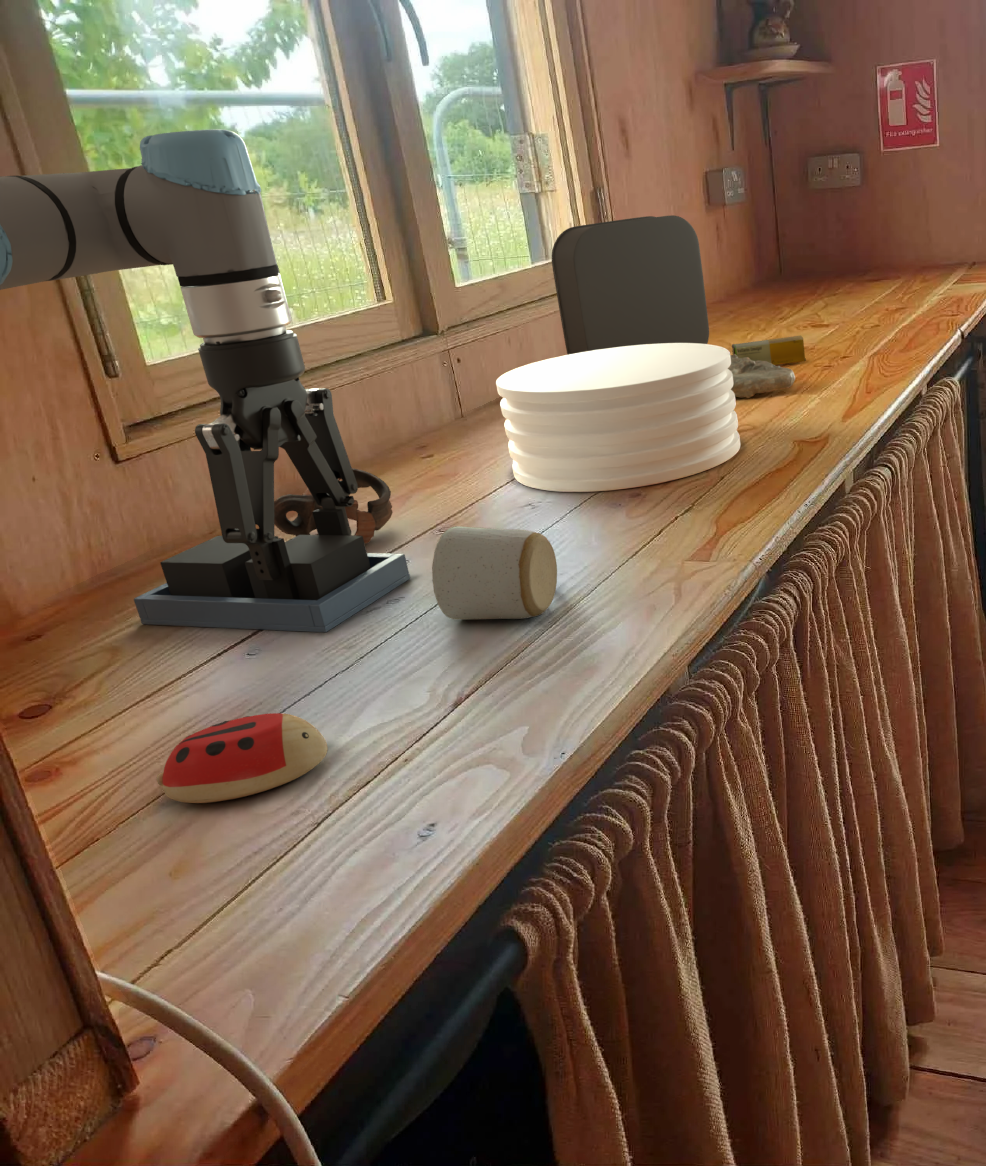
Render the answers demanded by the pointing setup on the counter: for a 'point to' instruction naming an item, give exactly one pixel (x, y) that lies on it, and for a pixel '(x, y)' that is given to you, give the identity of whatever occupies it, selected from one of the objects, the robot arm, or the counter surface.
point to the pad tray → (276, 603)
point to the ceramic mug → (493, 573)
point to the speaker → (630, 284)
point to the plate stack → (620, 416)
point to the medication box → (772, 350)
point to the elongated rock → (758, 377)
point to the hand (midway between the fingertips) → (316, 592)
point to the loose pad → (319, 564)
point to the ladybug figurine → (241, 758)
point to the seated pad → (210, 570)
